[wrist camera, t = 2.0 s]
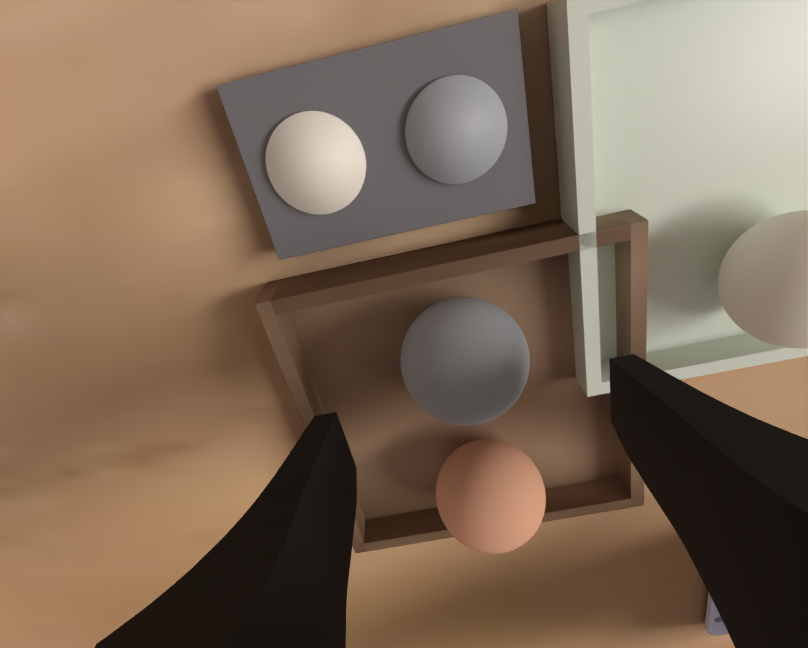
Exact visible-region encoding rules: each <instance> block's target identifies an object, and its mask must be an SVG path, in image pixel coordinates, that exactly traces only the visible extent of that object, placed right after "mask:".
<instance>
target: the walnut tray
mask: <svg viewBox="0 0 808 648" xmlns="http://www.w3.org/2000/svg"><path fill="white" fill-rule="evenodd" d="M591 233H592V232H591ZM591 233H590V234H588V233H587V234H584V235H583V236H586V237H583V238H580V237H581V236H582V234H581V235H578V234H577V233H576V232H575V231H574V230H573V229H572V228H571V227H570V226H569V225H568V224H566V223H565V222H564V221H563V220H562V219H558V220H553V221H548V222H544V223H539V224H535V225H530V226H525V227H521V228H516V229H512V230H507V231H502V232H498V233H493V234H489V235H484V236H479V237H475V238H470V239H466V240H461V241H456V242H452V243H447V244H443V245H438V246H433V247H429V248H424V249H419V250H415V251H410V252H406V253H401V254H396V255H392V256H387V257H383V258H378V259H373V260H369V261H364V262H360V263H355V264H350V265H346V266H341V267H337V268H332V269H327V270H323V271H318V272H313V273H309V274H304V275H300V276H295V277H290V278H286V279H281V280H277V281H272V282H267V283H266V285H265V287H264V288H263V290H262V292H261V294H260V295H259V297H258V299H257V301H256V302H255V307H256V309H257V312H258V314H259V317H260V319H261V322H262V324H263V327H264V329H265V332H266V334H267V337H268V339H269V341H270V344H271V346H272V349H273V351H274V354H275V356H276V359H277V361H278V364H279V366H280V369H281V371H282V373H283V376H284V378H285V381H286V383H287V386H288V388H289V391H290V393H291V396H292V398H293V401H294V403H295V406H296V408H297V410H298V413H299V415H300V418H301V420H302V423H303V425H304V428H305V429H306V428H307V426H308V425H309V423H310V422H311V420H312V419H313V417H314V416H317V415H322V414H327V413H332V412H337V415H338V418H339V420H340V423H341V426H342V429H343V431H344V434H345V437H346V440H347V443H348V445H349V448H350V451H351V454H352V456H353V459H354V462H355V465H356V468H357V507H356V516H355V525H354V534H353V543H352V546H353V548H354V551H355V553H360V552H366V551H372V550H378V549H384V548H390V547H396V546H402V545H408V544H414V543H420V542H426V541H432V540H438V539H444V538H450V537H454V536H453V535H452V534H451V533H450V532H449V530H448V529H447V528H446V526H445V524H444V523H443V521H442V519H441V516H440V514H439V511H438V507H437V502H436V484H437V478H438V475H439V473H440V470H441V468H442V466H443V464H444V463H445V461H446V460H447V458H448V457H449V456H450V455H451V454H452V453H453V452H454V451H455V450H456V449H458V448H459V447H461V446H462V445H464V444H466V443H469V442H471V441H475V440H479V439H496V440H501V441H504V442H507V443H510V444H512V445H514V446H516V447H517V448H519V449H520V450H522V451H523V452H524V453H525V454H526V455H527V456H528V457H529V458H530V459H531V460H532V461H533V463H534V464H535V466H536V467H537V469H538V470H539V473H540V475H541V477H542V479H543V483H544V487H545V493H546V506H545V512H544V516H543V519H542V522H546V521H552V520H558V519H564V518H570V517H576V516H582V515H588V514H594V513H600V512H606V511H612V510H618V509H624V508H630V507H636V506H642V505H644V481H643V479H642V478H641V476H640V475H639V473H638V471H637V470H636V468H635V467H634V465H633V464H632V462H631V460H630V459H629V457H628V456H627V454H626V452H625V450H624V448H623V446H622V444H621V442H620V440H619V437H618V435H617V433H616V431H615V429H614V426H613V424H612V422H611V406H610V393H606V394H600V395H595V396H590V397H587V395H586V393H585V392H584V390H583V388H582V387H581V385H580V383H579V382H578V380H577V378H576V368H575V352H574V337H573V321H572V306H571V290H570V275H569V260H568V253H572V252H577V251H580V245H581V244H584V243H585V241H583V242H582V243H579V242H581V241H579V238H580V240H581V239H582V240H584V239H586V238H587V239H588V237H587V235H588V236H589V237H590V236H592V235H591ZM592 234H593V236H594V233H592ZM595 234H596V237H595V236H594V237H595V239H596V240H597V241H596V243H597V246H596V247H600V246H605V245H610V244H615V280H616V340H617V357H621V356H626V355H631V354H635V355H637V356H638V357H640V358H642V359H644V360H646V336H647V276H648V220H647V219H646V218H644V217H642V216H641V215H639V214H638V213H636V212H634V211H633V210H631V209H629V210H625V211H620V212H616V213H611V214H606V215H602V216H597V217H596V233H595ZM594 237H593V239H594ZM590 238H591V237H590ZM587 239H586V240H587ZM588 240H589V239H588ZM588 240H587V243H588ZM590 240H591V241H592V238H591V239H590ZM594 241H595V240H594ZM587 243H585V245H586V244H587ZM579 244H580V245H579ZM588 244H589V243H588ZM588 244H587V245H588ZM590 244H593V243H592V242H591V243H590ZM590 244H589V245H588V246H587V247H589V246H590ZM594 244H595V243H594ZM594 244H593V245H594ZM593 245H592V246H593ZM582 246H583V245H582ZM592 246H591V247H592ZM584 247H585V246H584ZM596 247H595V248H596ZM585 248H586V247H585ZM593 248H594V247H593ZM456 297H475V298H479V299H483V300H486V301H489V302H491V303H493V304H495V305H497V306H499V307H500V308H502V309H503V310H505V311H506V312H507V313H508V314H509V315H510V316H511V317H512V318H513V319H514V320H515V321H516V323H517V324H518V325H519V327H520V328H521V330H522V332H523V334H524V336H525V339H526V342H527V345H528V349H529V356H530V367H529V375H528V379H527V382H526V385H525V387H524V389H523V391H522V393H521V395H520V397H519V398H518V399H517V401H516V402H515V403H514V404H513V405H512V406H511V407H510V408H509V409H508V410H507V411H506V412H505V413H503V414H502V415H500V416H499V417H497V418H495V419H493V420H491V421H488V422H485V423H481V424H477V425H465V426H463V425H454V424H450V423H446V422H443V421H441V420H439V419H436V418H434V417H433V416H431V415H429V414H428V413H427V412H425V411H424V410H423V409H422V408H421V407H420V406H419V405H418V404H417V403H416V402H415V401H414V399H413V398H412V396H411V395H410V394H409V392H408V390H407V388H406V385H405V383H404V380H403V377H402V371H401V362H400V358H401V349H402V345H403V341H404V338H405V336H406V334H407V331H408V329H409V328H410V326H411V325H412V323H413V322H414V321H415V320H416V318H417V317H418V316H419V315H420V314H421V313H422V312H423V311H425V310H426V309H427V308H429V307H430V306H432V305H434V304H436V303H438V302H441V301H443V300H446V299H450V298H456Z"/></svg>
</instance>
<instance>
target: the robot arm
mask: <svg viewBox="0 0 808 648" xmlns="http://www.w3.org/2000/svg"><path fill="white" fill-rule="evenodd" d="M609 364H610V406H611V422H612V424H613V426H614V429H615V431H616V433H617V435H618V437H619V440H620V442H621V444H622V446H623V448H624V450H625V452H626V454H627V456H628V457H629V459H630V460H631V462H632V464H633V465H634V467H635V468H636V470H637V471H638V473H639V475H640V476H641V478H642V479H643V481H644V482H645V484H646V485H647V487H648V489H649V490H650V492H651V493H652V495H653V496H654V498H655V499H656V501H657V502H658V504H659V506H660V507H661V509H662V510H663V512H664V513H665V515H666V516H667V518H668V519H669V521H670V522H671V524H672V526H673V527H674V529H675V530H676V532H677V534H678V535H679V537H680V539H681V540H682V542H683V544H684V545H685V547H686V549H687V551H688V553H689V555H690V557H691V559H692V561H693V563H694V565H695V566H696V568H697V570H698V572H699V574H700V576H701V578H702V580H703V582H704V584H705V586H706V588H707V590H708V592H709V593H708V602H707V610H706V618H705V628H706V630H707V631H708V633H709V634H711V635H723V634H729V635H730V637H731V639H732V641H733V644H734V646H735V648H808V439H806V438H803V437H800V436H798V435H795V434H793V433H790V432H788V431H785V430H783V429H780V428H778V427H775V426H773V425H770V424H768V423H765V422H763V421H761V420H758V419H756V418H754V417H752V416H749V415H747V414H745V413H743V412H741V411H739V410H737V409H735V408H733V407H730V406H728V405H726V404H724V403H722V402H720V401H718V400H716V399H714V398H712V397H710V396H708V395H707V394H705V393H703V392H701V391H699V390H697V389H695V388H693V387H692V386H690V385H688V384H686V383H684V382H683V381H681V380H679V379H677V378H675V377H674V376H672V375H670V374H668V373H667V372H665V371H663V370H661V369H660V368H658V367H656V366H654V365H653V364H651V363H649V362H647V361H646V360H644V359H642V358H640V357H638V356H637V355H635V354H631V355H626V356H621V357H616V358H611V359H609ZM356 507H357V468H356V465H355V462H354V459H353V456H352V454H351V451H350V448H349V445H348V443H347V440H346V437H345V434H344V431H343V429H342V426H341V423H340V420H339V418H338V415H337V412H332V413H327V414H322V415H317V416H314V417H313V419H312V420H311V422H310V423H309V425H308V426H307V428H306V429H305V431H304V432H303V434H302V435H301V437H300V439H299V440H298V442H297V443H296V445H295V446H294V448H293V449H292V451H291V452H290V454H289V455H288V457H287V458H286V460H285V461H284V463H283V464H282V466H281V467H280V468H279V470H278V471H277V473H276V474H275V476H274V477H273V478H272V480H271V481H270V482H269V484H268V485H267V486H266V488H265V489H264V490H263V492H262V493H261V494H260V496H259V497H258V498H257V500H256V501H255V502H254V503H253V505H252V506H251V507H250V508H249V509H248V511H247V512H246V513H245V514H244V515H243V517H242V518H241V519H240V520H239V521H238V522H237V523H236V524H235V525H234V527H233V528H232V529H231V530H230V531H229V532H228V533H227V534H226V535H225V536H224V537H223V538H222V540H220V541H219V542H218V543H217V544H216V545H215V546H214V547H213V548H212V549H211V550H210V551H209V552H208V553H207V554H206V555H205V556H204V557H203V558H202V559H201V560H200V561H199V562H198V563H197V564H196V565H195V566H194V567H193V568H192V569H191V570H190V571H188V572H187V573H186V574H185V575H184V576H183V577H182V578H181V579H179V580H178V581H177V582H176V583H175V584H174V585H173V586H171V587H170V588H169V589H168V590H167V591H165V592H164V593H163V594H162V595H161V596H159V597H158V598H157V599H156V600H155V601H153V602H152V603H151V604H150V605H148V606H147V607H146V608H145V609H143V610H142V611H141V612H139V613H138V614H137V615H135V616H134V617H133V618H131V619H130V620H129V621H127V622H126V623H125V624H123V625H122V626H121V627H119V628H118V629H117V630H115V631H114V632H113V633H111V634H110V635H109V636H107V637H106V638H104V639H103V640H102V641H100V642H99V643H97V644H96V646H95V648H345V642H346V599H347V586H348V577H349V568H350V560H351V551H352V543H353V534H354V525H355V516H356Z"/></svg>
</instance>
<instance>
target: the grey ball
mask: <svg viewBox="0 0 808 648" xmlns="http://www.w3.org/2000/svg"><path fill="white" fill-rule="evenodd" d="M400 362H401V371H402V377H403V380H404V383H405V385H406V388H407V390H408V392H409V394H410V395H411V396H412V398H413V399H414V401H415V402H416V403H417V404H418V405H419V406H420V407H421V408H422V409H423V410H424V411H425V412H427V413H428V414H429V415H431V416H433V417H434V418H436V419H439V420H441V421H443V422H446V423H450V424H454V425H463V426H465V425H477V424H481V423H485V422H488V421H491V420H493V419H495V418H497V417H499V416H500V415H502V414H503V413H505V412H506V411H507V410H508V409H509V408H510V407H511V406H512V405H513V404H514V403H515V402H516V401H517V399H518V398H519V397H520V395H521V393H522V391H523V389H524V387H525V385H526V382H527V379H528V375H529V367H530V356H529V349H528V345H527V342H526V339H525V336H524V334H523V332H522V330H521V328H520V327H519V325H518V324H517V323H516V321H515V320H514V319H513V318H512V317H511V316H510V315H509V314H508V313H507V312H506V311H505V310H503V309H502V308H500V307H499V306H497V305H495V304H493V303H491V302H489V301H486V300H483V299H479V298H475V297H456V298H450V299H446V300H443V301H441V302H438V303H436V304H434V305H432V306H430V307H429V308H427V309H426V310H425V311H423V312H422V313H421V314H420V315H419V316H418V317H417V318H416V320H415V321H414V322H413V323H412V325H411V326H410V328H409V329H408V331H407V334H406V336H405V338H404V341H403V345H402V349H401V358H400Z"/></svg>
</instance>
